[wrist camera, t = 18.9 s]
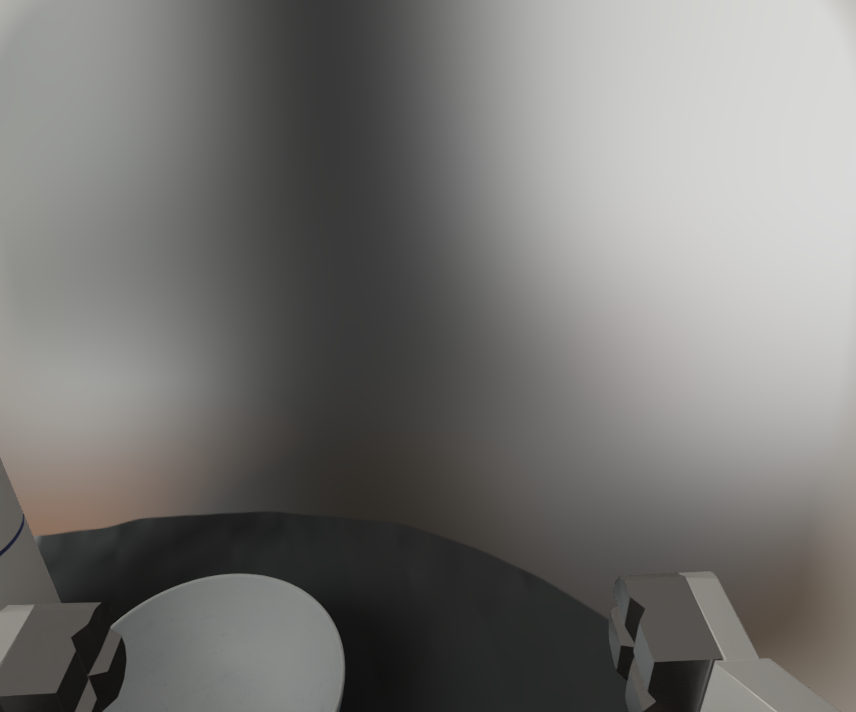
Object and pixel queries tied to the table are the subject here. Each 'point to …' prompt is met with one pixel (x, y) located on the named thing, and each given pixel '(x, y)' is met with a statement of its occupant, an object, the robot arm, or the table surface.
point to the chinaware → (231, 649)
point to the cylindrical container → (20, 555)
